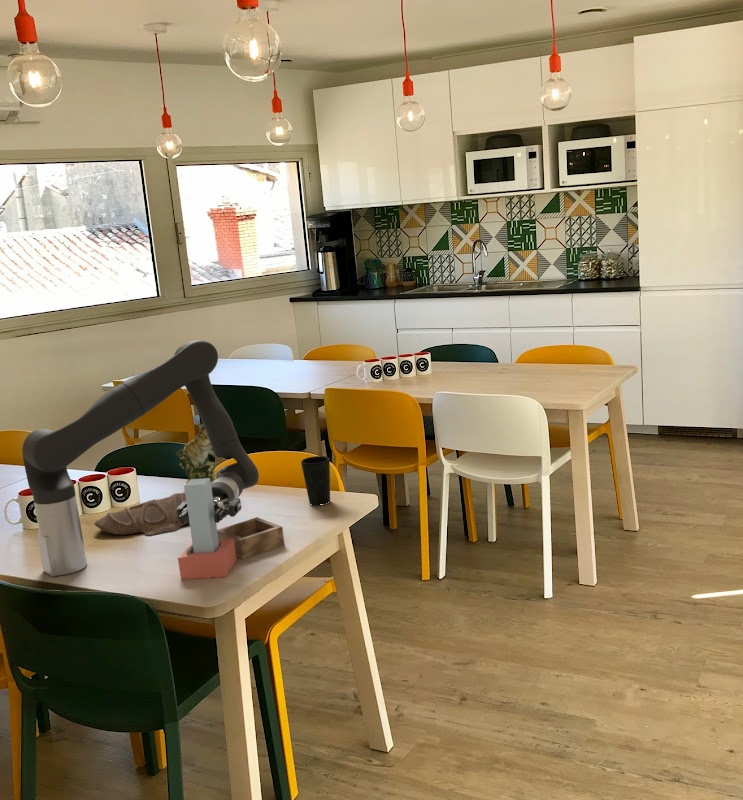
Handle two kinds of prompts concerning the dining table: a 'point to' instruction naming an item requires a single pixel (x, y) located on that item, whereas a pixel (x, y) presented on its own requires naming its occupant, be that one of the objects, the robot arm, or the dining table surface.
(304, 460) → the cup
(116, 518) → the decorative mask
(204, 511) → the pale blue tall pillar
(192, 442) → the figurine
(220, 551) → the pink square holder
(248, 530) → the tray
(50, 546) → the robot arm
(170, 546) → the dining table surface
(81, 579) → the dining table surface
